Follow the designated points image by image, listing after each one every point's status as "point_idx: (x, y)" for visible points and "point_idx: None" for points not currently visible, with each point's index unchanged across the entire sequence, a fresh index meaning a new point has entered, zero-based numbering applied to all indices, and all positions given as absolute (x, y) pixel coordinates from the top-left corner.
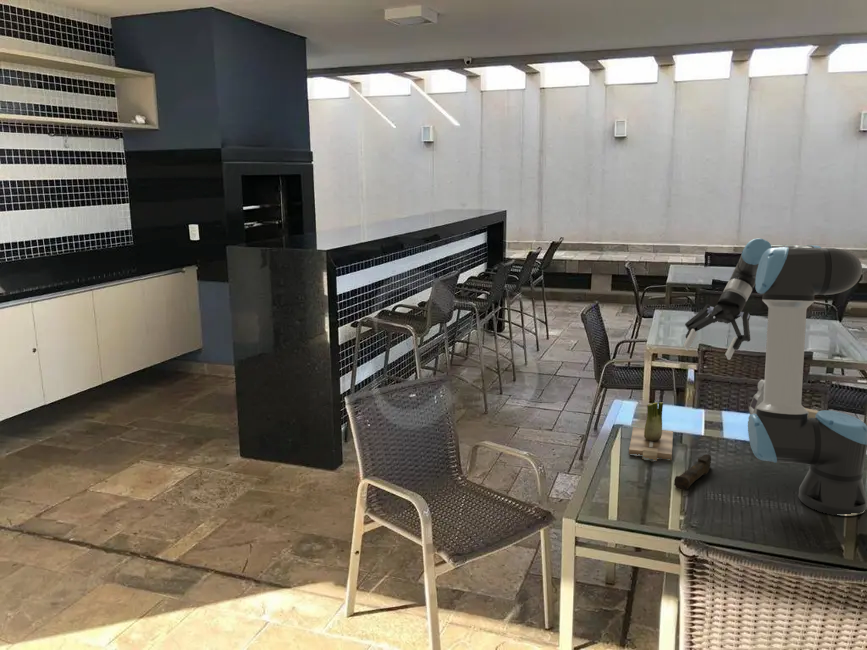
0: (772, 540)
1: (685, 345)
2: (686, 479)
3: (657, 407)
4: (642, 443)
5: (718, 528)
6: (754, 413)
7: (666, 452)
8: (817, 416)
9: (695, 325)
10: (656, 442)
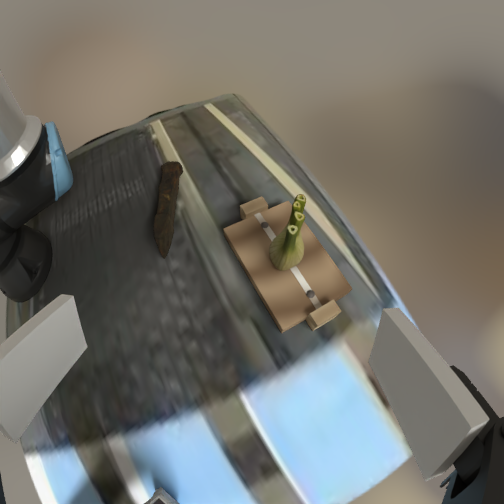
0: (78, 161)
1: (385, 311)
2: (164, 164)
3: (291, 222)
4: None
5: (120, 144)
6: (160, 493)
7: (234, 229)
8: None
9: (497, 466)
10: None
